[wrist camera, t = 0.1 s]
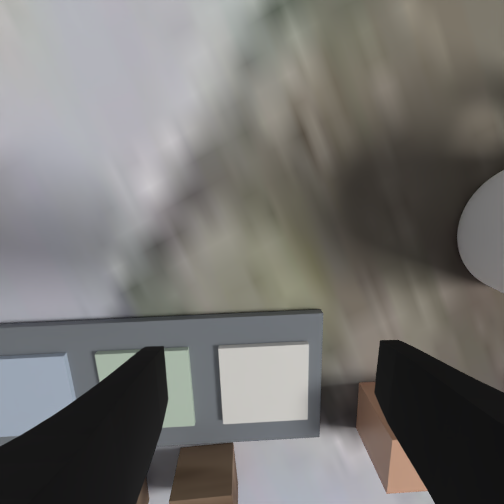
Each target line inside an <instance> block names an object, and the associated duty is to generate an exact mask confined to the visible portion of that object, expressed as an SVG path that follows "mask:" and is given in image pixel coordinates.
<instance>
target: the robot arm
mask: <svg viewBox="0 0 504 504" xmlns="http://www.w3.org/2000/svg"><path fill="white" fill-rule="evenodd" d="M374 393H375V396H376V398H377V400H378V403H379V405H380V408H381V410H382V412H383V414H384V416H385V419H386V421H387V423H388V425H389V426H390V428H391V430H392V432H393V433H394V435H395V437H396V438H397V440H398V442H399V443H400V445H401V447H402V449H403V450H404V452H405V454H406V455H407V457H408V459H409V460H410V462H411V464H412V465H413V467H414V469H415V470H416V472H417V474H418V475H419V477H420V479H421V480H422V482H423V484H424V485H425V487H426V489H427V490H428V492H429V494H430V495H431V497H432V499H433V501H434V502H435V504H504V393H503V392H501V391H499V390H497V389H495V388H493V387H491V386H489V385H487V384H484V383H482V382H480V381H478V380H476V379H474V378H472V377H470V376H468V375H466V374H464V373H462V372H460V371H458V370H457V369H455V368H453V367H451V366H449V365H447V364H445V363H443V362H441V361H439V360H438V359H436V358H434V357H432V356H430V355H428V354H426V353H424V352H422V351H420V350H418V349H416V348H415V347H413V346H410V345H408V344H406V343H404V342H402V341H399V340H380V346H379V355H378V364H377V373H376V382H375V391H374ZM167 404H168V388H167V376H166V365H165V353H164V346H145V347H144V348H142V349H141V350H140V351H138V352H137V353H136V354H134V355H133V356H132V357H131V358H129V359H128V360H127V361H126V362H125V363H123V364H122V365H121V366H120V367H118V368H117V369H116V370H115V371H113V372H112V373H111V374H109V375H108V376H107V377H106V378H104V379H103V380H102V381H101V382H99V383H98V384H97V385H95V386H94V387H92V388H91V389H90V390H88V391H87V392H86V393H84V394H83V395H81V396H80V397H79V398H77V399H76V400H75V401H73V402H72V403H70V404H69V405H68V406H66V407H65V408H63V409H62V410H60V411H59V412H57V413H56V414H54V415H53V416H51V417H49V418H48V419H46V420H45V421H43V422H41V423H40V424H38V425H37V426H35V427H33V428H32V429H30V430H28V431H27V432H25V433H23V434H22V435H20V436H18V437H16V438H15V439H13V440H11V441H9V442H7V443H5V444H4V445H2V446H0V504H136V503H137V500H138V497H139V494H140V492H141V489H142V486H143V483H144V480H145V477H146V474H147V472H148V469H149V466H150V463H151V460H152V457H153V454H154V451H155V449H156V446H157V443H158V440H159V437H160V434H161V431H162V427H163V422H164V418H165V413H166V409H167Z"/></svg>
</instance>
